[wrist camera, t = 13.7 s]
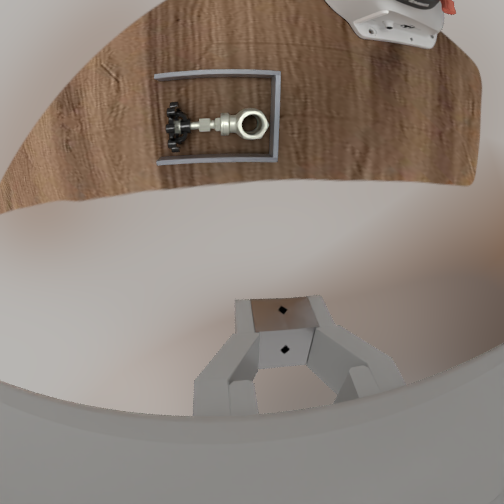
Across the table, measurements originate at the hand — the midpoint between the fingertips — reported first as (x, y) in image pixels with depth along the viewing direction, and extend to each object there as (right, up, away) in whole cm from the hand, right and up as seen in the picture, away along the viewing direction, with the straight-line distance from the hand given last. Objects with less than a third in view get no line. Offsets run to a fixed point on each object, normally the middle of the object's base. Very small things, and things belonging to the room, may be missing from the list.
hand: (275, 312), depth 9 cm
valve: (-5, +20, +25) cm, 32 cm away
